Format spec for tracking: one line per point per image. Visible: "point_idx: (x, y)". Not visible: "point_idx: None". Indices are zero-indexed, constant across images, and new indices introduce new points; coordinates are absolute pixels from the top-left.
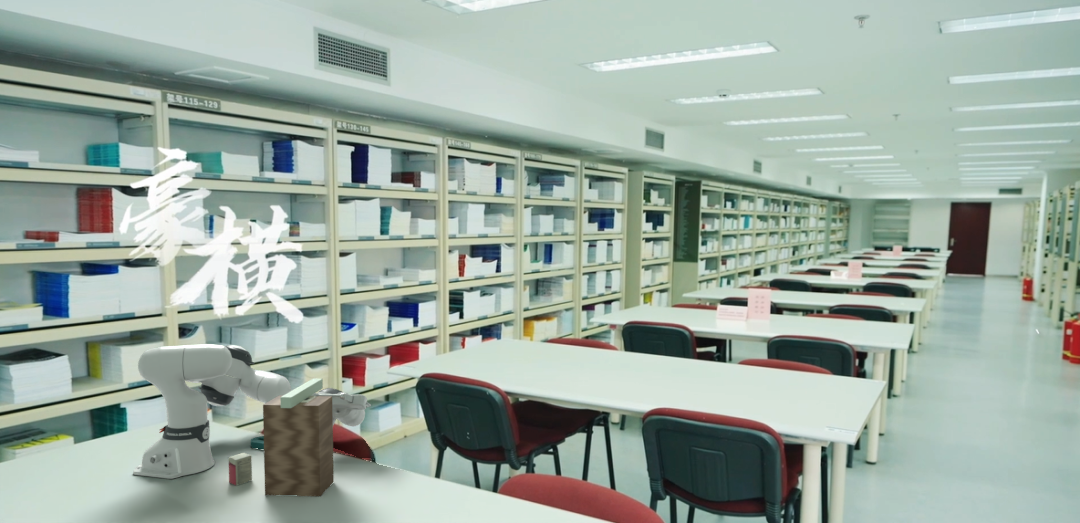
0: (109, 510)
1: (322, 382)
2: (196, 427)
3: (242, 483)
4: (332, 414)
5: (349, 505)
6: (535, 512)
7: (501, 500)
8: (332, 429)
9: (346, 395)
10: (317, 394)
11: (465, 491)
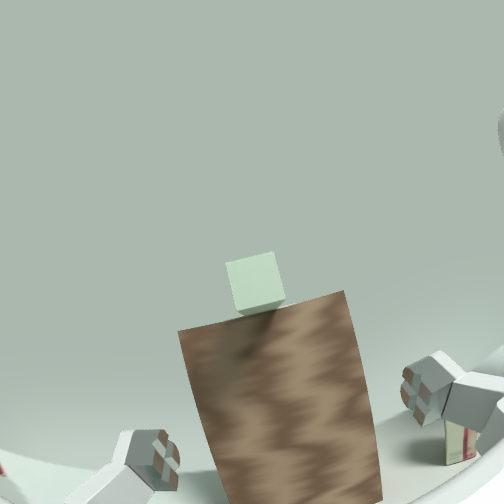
0: (484, 364)
1: (230, 281)
2: None
3: (445, 453)
4: (191, 386)
5: (189, 485)
6: (11, 454)
7: (15, 469)
8: (203, 427)
9: (121, 458)
10: (419, 383)
11: (29, 488)
